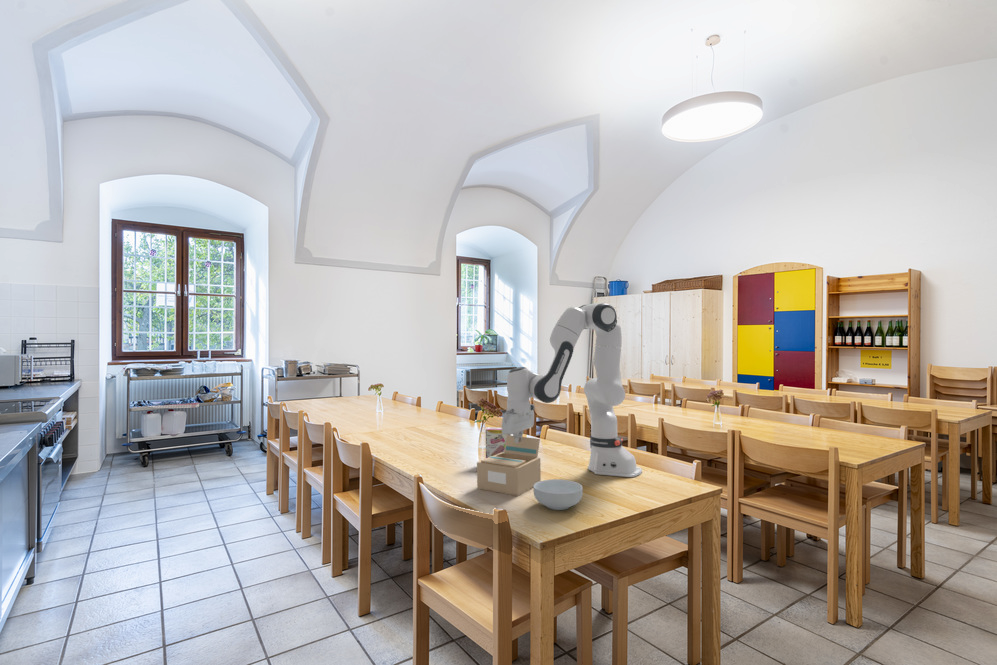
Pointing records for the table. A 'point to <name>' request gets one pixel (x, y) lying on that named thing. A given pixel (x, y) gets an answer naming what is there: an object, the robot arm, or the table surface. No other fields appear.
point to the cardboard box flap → (522, 446)
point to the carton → (509, 475)
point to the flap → (503, 461)
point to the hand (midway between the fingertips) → (518, 442)
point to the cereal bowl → (558, 493)
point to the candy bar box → (495, 441)
